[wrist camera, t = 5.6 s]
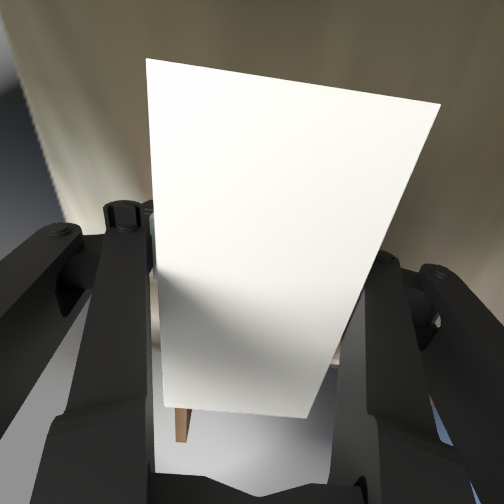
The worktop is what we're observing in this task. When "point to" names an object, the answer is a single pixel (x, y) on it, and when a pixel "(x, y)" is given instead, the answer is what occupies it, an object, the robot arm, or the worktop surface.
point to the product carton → (267, 227)
